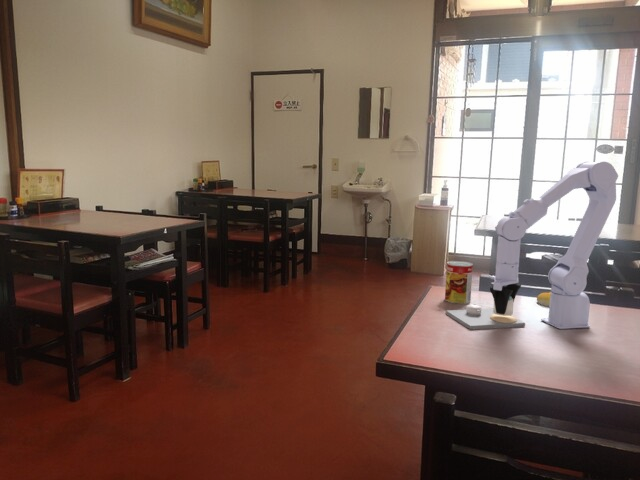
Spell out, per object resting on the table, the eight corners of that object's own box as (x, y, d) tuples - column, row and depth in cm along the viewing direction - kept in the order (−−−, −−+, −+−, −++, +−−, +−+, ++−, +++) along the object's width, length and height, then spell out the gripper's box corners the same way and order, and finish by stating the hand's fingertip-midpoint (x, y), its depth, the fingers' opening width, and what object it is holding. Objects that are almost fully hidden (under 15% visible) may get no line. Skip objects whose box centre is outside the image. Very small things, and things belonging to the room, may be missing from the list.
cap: (516, 313, 135) (516, 296, 134) (507, 316, 131) (507, 299, 131) (499, 309, 138) (499, 292, 138) (489, 313, 135) (490, 295, 134)
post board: (495, 311, 146) (496, 301, 145) (524, 326, 132) (525, 315, 132) (445, 313, 142) (446, 303, 142) (470, 329, 129) (471, 318, 128)
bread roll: (531, 302, 157) (532, 289, 157) (553, 300, 160) (554, 288, 159) (550, 309, 150) (551, 296, 149) (574, 307, 152) (575, 294, 152)
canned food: (446, 296, 162) (448, 260, 160) (471, 298, 159) (473, 262, 158) (443, 302, 155) (445, 264, 153) (469, 304, 152) (472, 266, 150)
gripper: (501, 256, 141) (497, 303, 143) (483, 264, 129) (479, 314, 131) (527, 259, 136) (523, 307, 138) (510, 267, 125) (506, 319, 127)
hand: (503, 311), depth 135 cm, fingers closed on cap, 5 cm apart
